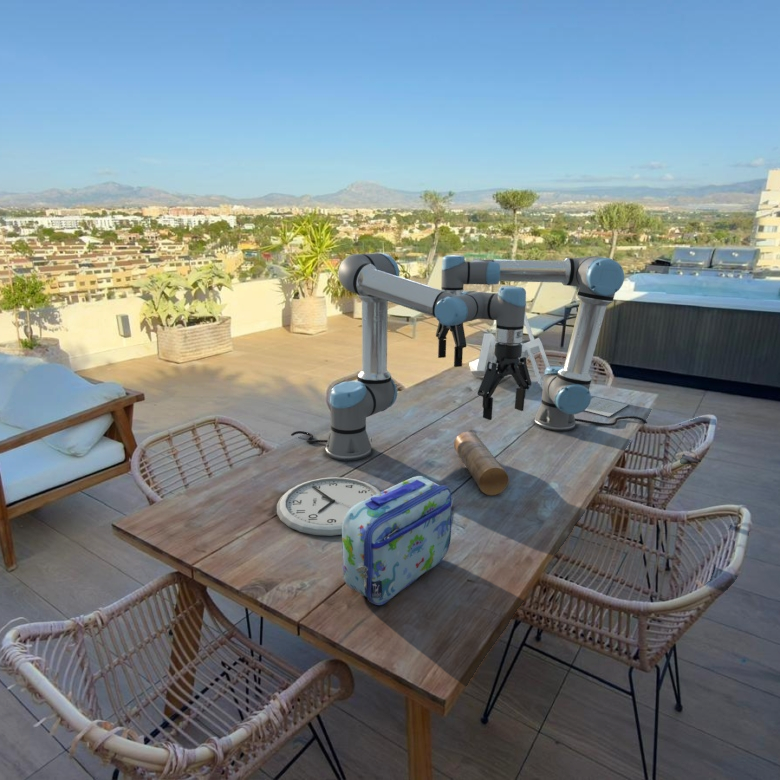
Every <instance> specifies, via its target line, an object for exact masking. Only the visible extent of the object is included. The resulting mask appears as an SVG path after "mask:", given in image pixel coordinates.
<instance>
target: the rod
mask: <svg viewBox="0 0 780 780" xmlns="http://www.w3.org/2000/svg"><path fill="white" fill-rule="evenodd" d="M453 449H454V451H455V452H456V453H457V455H458V456H459V458H460V460H461V461H462V463H463V465H464V466H465V468H466V469H467V471H468V473H469V474H470V475H471V477H472V479H473V480H474V482H475V483H476V485H477V487H478V488H479V490H480V491H481V492H482V493H483V494H485V495H487V496H497V495H499V494H501V493H503V492H504V490H506V488H507V486H508V484H509V475H508V473H507V472H506V470H505V469H504V467H502V465H501V464H500V463H499V461H498V460H497V459H496V458H495V456H494V455H493V454H492V452H491V451H490V450H489V448H487V446H486V445H485V444H484V443H483V441H482V440H481V438H480V437H479V436H478V435H477V434H476V433H475V432H473V431H463V432H461V433H459V434H458V435H457V436H456V437H455V439H454V442H453Z"/></svg>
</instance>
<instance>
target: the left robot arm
mask: <svg viewBox="0 0 780 780" xmlns="http://www.w3.org/2000/svg"><path fill="white" fill-rule="evenodd" d="M337 273H338V280H339V283H340V284H341V286H342V287H343V288H344V289H345V290H347V291H348V292H351V293H353V294H356V296H357V298H359V299H360V300H361V370H360V371H359V373H358V374H357V380H348V381H342V382H339V383H337V384H336V385H334V386H333V387H332V388H331V390H330V397H329V404H330V405H329V406H330V433H329V435H328V439H313V438H314V435H313V434H312V433H310V432H307V431H304V430H303V431H302V430H296V431H293V432H292V433H291V434H290V436H292V437H293V436H295V435H298V434H301V435H306V436H308V438H306V440H305V441H306V443H308V444H316V443H326V446H325V453H326V455H327V456H328V457H329V458H331V459H332V460H333V459H334V460H337V461H342V462H343V461H347V462H353V461H359V460H362V459H366V458H367V457H369V456H370V455H371V453H372V444H371V443H372V442H373V440H372V437H371V436H370V437H369V435H368V433H367V418H368V417H371V416H373V415H375V414H378V413H381V412H385V411H387V410H388V409H390V408H391V407H392V406H393V405H394V404H395V402H396V400H397V398H398V386H397V384H396V383H395V380H393V378H392V374H391V372H390V371H388V312H389V311H388V310H389V307H388V305H389V304H388V303H393V304H395V305H398V306H400V307H403V308H407V309H410V310H413V311H415V312H418V313H421V314H424V315H427V316H430V317H432V318H436V320H437V321H438V323H439V322H440V323H441V324H443V325H445V326H455V325H459V324H461V323H463V324H464V323H467V322H472V321H475V320H488V321H489V320H491V321H495V322H496V323H495V335H494V336H495V341H496V342H497V343H496V344H495V352H494V354H495V356H496V358H497V359H496V362H495V363H493V362H488V364H487V370H486V373H485V375H484V376H483V378H482V380H481V382H480V385H479V387H478V390H477V394H476V395H477V396H480V397H482V408H483V409H482V418H483V419H485V420H488V421H492V419H493V405H494V398H493V397H492V396H493V394H494V392H495V391H496V389H497V388H498V386H499V384H500V382H501V381H502V379H503V380H504V378H505V377H508V376H511V377H512V378H513V380H514V382H515V383H516V385H517V386H518V387H516V388H515V390H516V391H515V400H514V410H518V411H521V412H524V407H525V399H526V394H527V393H526V392H527V391H529V389H530V387H531V386H532V380H531V379H532V378H531V376H530V372H529V369H528V364H527V359H526V357H522V356H521V355H522V344H523V341H524V340H523V338H524V328H525V323H524V317H525V313H526V307H527V291H526V289H525V288H524V287H521V286H508V285H507V286H500V287H499V288H498V290H497V291H498V292H484V291H477V290H463V292H462V293H461V294H460V295H455V294H451V293H448V292H445V291H442V290H441V289H439V288H435V287H433V286H429V285H426V284H423V283H420V282H416V281H413V280H410V279H408V278H404V277H401V276H400V268H399V265H398V263H397V261H396V260H395V259H394V258H393V257H392V255H389V254H388V253H383V252H371V253H370V252H369V253H354V254H350V255H348V256H347V257H345V258H344V259H343V260H342V261H341V262H340V265H339V267H338V272H337ZM521 343H522V344H521ZM498 373H499V374H498ZM307 433H308V434H307ZM369 438H370V439H369Z"/></svg>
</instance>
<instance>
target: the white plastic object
mask: <svg viewBox="0 0 780 780" xmlns="http://www.w3.org/2000/svg"><path fill="white" fill-rule="evenodd" d="M524 327H525V329H526V331H527V335H528V338H529V341H527V342H524V343H523V342H521V344H522V355H521V356H522V357H526V360H527V359H528V357H529V360H530V363H531V366H532V369H533V372H534V375H535V379H536V382H537V383H538V385H539V386H540V388H541V389H542V390H543V382H544V381H543V380H542V379H543V378H542V377H541V373H540V371H539V367H538V364H537V362H536V359H535V355H534V354H537V353H540V354H541V357H542V360H543V363H544V366H545V369H546V368H547V367H551V365H550V363H549V360H548V356H547V354H546V352H545V351H546V350H545V348H544V346H543V342H542V341H541V339H540V337H537V338H535V337H534V334H533V330H532V328H531V325H530V323H529V319H528V316H527V313H526V312H525V317H524ZM495 336H496V335H494V334H493V333H483V337H482V342H481V346H480V352H479V356H478V358H477V359H475V360H473V361H470V362H468V366H469V369H470V373H471V374H472V375H473V377H475V378H477V377H484V375H485V373H486V370H487V364H488V362H493V363H495V362H496V359H497V358H496V356H495V354H494V352H495V344H496V343H497V342H496V341H495ZM498 374H499V373H498Z"/></svg>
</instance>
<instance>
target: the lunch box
mask: <svg viewBox="0 0 780 780" xmlns="http://www.w3.org/2000/svg"><path fill="white" fill-rule="evenodd" d="M451 495H452V491H451V489H450V487H449V486H447V485H444V484H442V485H440V484H437V483H436V482H434V481H432V480H430V479H428V478H427V477H425V476H422V475H416V476H413V477H411V478H408V479H406V480H403V481H401V482H399V483H397V484H395V485H393V486H390V487H388V488H386V489H384V490H382V491H381V492H380V493H378V494H376V495H374V496H372V497H370V498H368V499H366V500H364V501H362V502H360V503H358V504H356V505H354V506H353V507H352V508H351V509H350V510H349V511H348V512H347V514H346V516H345V518H344V521H343V525H342V535H341V543H342V544H341V545H342V569H343V578H344V583H345V585H346V586H347V587H349V588H351V589H352V590H354V591H356V592H357V593H360V594H361V595H362V596H363V597H365V598H367V601H369V603H372V604H373V605H376V606H383V605H385V604H386V603H388V602H389V601H390V600H391V599H392V598H394V597H395V596H396V595H397V594H399V593H400V592H401V591H403V590H404V589H406V588H407V587H408V586H410V585H411V584H413V583H414V582H416V580H417V579H418V578H420V576H422V575H423V574H425V573H426V572H428V571H430V570H432V569H433V568H435V567H436V566H438V565H439V564H440V563H441V562H442V561H443V560H444V558H445V557H446V555H447V552H448V551H449V548H450V544H451V539H452V515H453V514H452V511H453V510H452V508H451V503H452V496H451Z"/></svg>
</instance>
